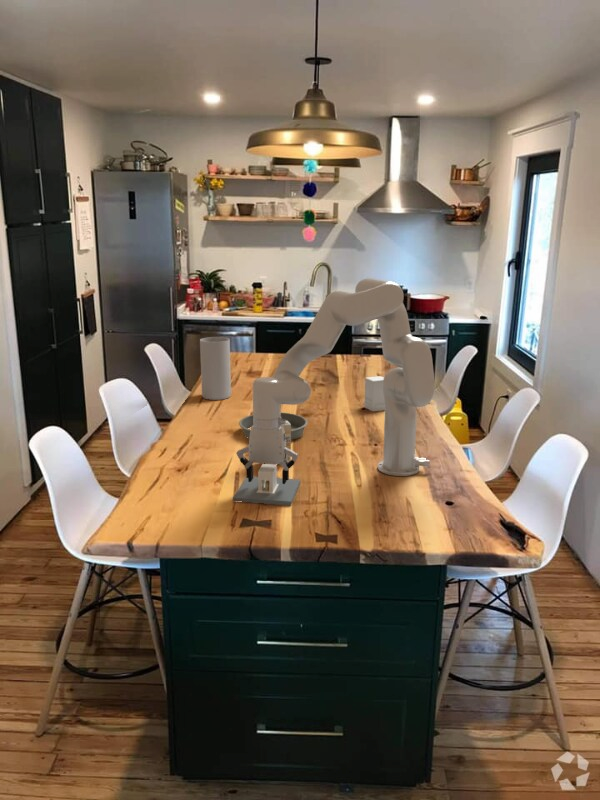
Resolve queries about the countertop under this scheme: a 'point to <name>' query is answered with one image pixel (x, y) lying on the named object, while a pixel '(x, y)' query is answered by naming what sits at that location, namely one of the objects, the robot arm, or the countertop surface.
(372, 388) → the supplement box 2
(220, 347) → the cylinder vase
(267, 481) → the pin board
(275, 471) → the plug housing
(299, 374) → the robot arm
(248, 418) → the cake pan
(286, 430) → the supplement box
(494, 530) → the countertop surface
